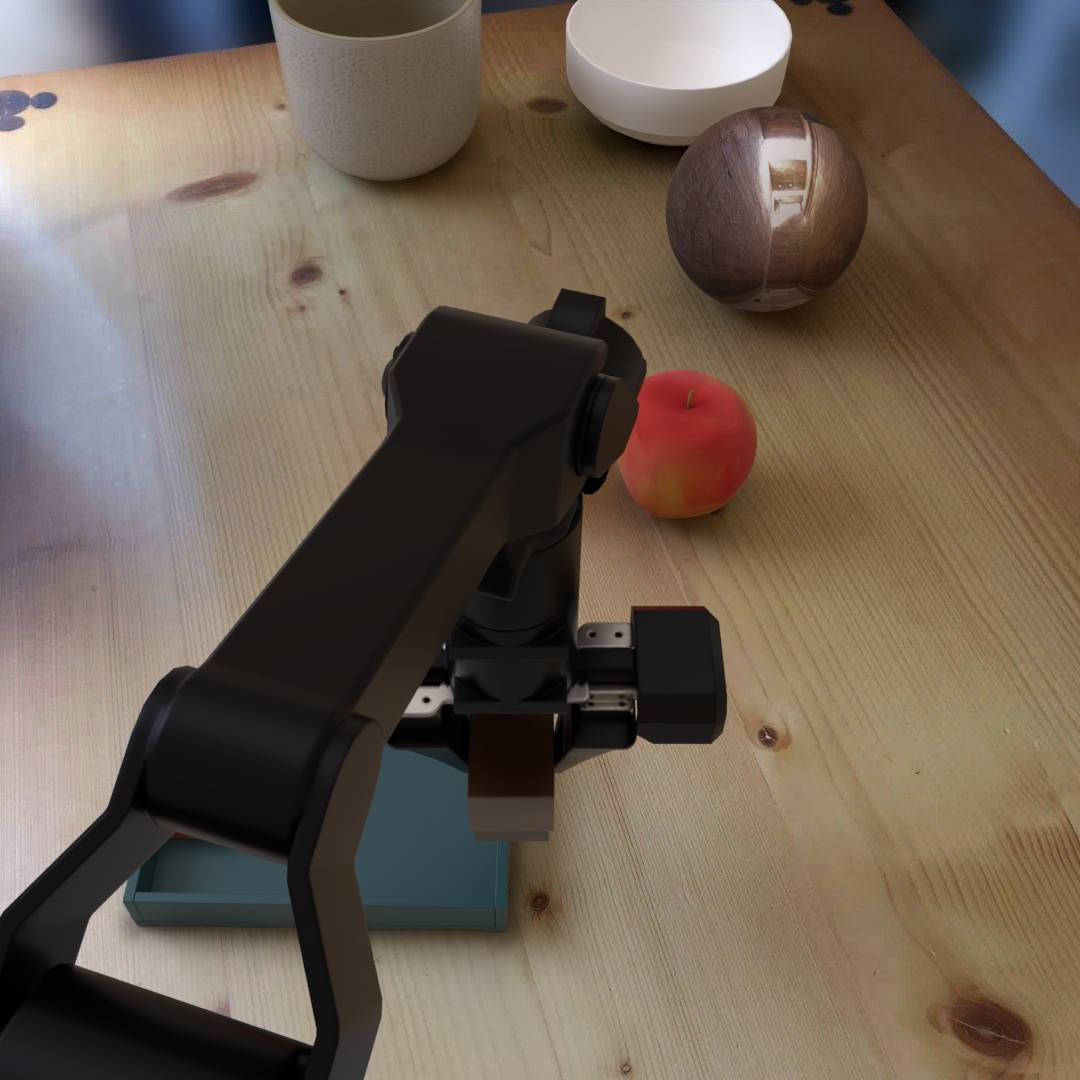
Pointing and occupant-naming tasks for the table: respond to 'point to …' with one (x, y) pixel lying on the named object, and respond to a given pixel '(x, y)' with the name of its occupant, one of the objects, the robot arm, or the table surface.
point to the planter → (381, 80)
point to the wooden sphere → (766, 209)
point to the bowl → (675, 62)
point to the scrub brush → (511, 777)
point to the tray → (381, 866)
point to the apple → (688, 445)
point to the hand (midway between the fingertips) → (513, 764)
